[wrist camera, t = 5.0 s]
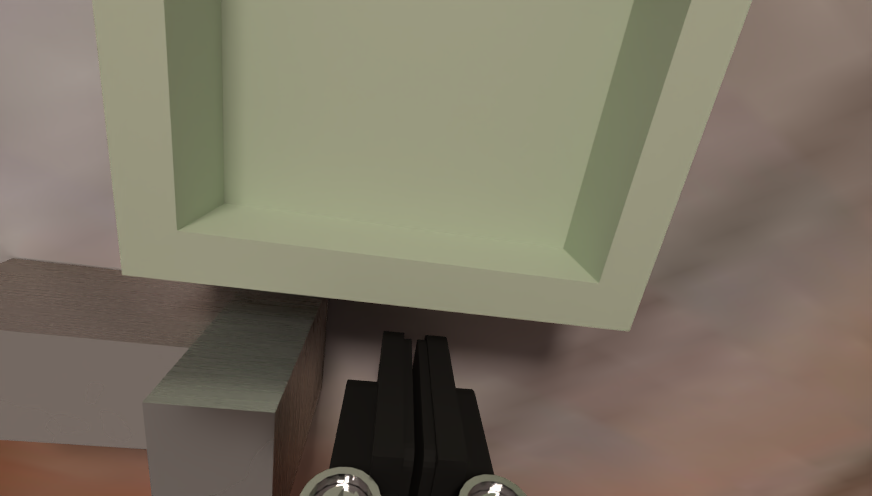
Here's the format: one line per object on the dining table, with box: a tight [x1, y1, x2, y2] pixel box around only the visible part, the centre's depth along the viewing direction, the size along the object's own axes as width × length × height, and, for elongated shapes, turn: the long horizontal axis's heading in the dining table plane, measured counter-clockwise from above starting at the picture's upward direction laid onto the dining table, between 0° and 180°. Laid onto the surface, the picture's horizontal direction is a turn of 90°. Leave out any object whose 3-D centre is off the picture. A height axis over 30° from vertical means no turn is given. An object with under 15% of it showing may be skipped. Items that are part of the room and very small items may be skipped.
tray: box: [92, 0, 752, 331], centre depth 8 cm, size 10×10×3 cm
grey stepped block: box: [0, 258, 329, 496], centre depth 9 cm, size 8×4×5 cm, turn 81°
